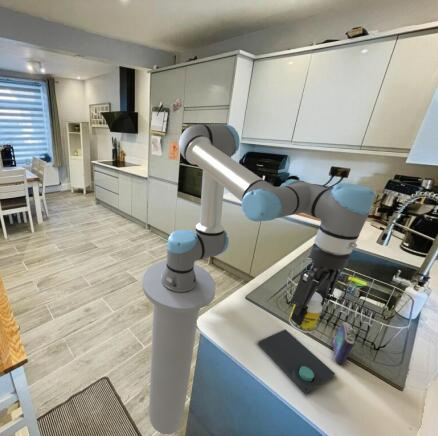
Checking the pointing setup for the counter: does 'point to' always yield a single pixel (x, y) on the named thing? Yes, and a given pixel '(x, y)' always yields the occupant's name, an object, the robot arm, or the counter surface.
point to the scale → (295, 360)
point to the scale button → (306, 373)
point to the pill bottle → (309, 314)
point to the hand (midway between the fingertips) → (304, 317)
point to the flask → (343, 343)
